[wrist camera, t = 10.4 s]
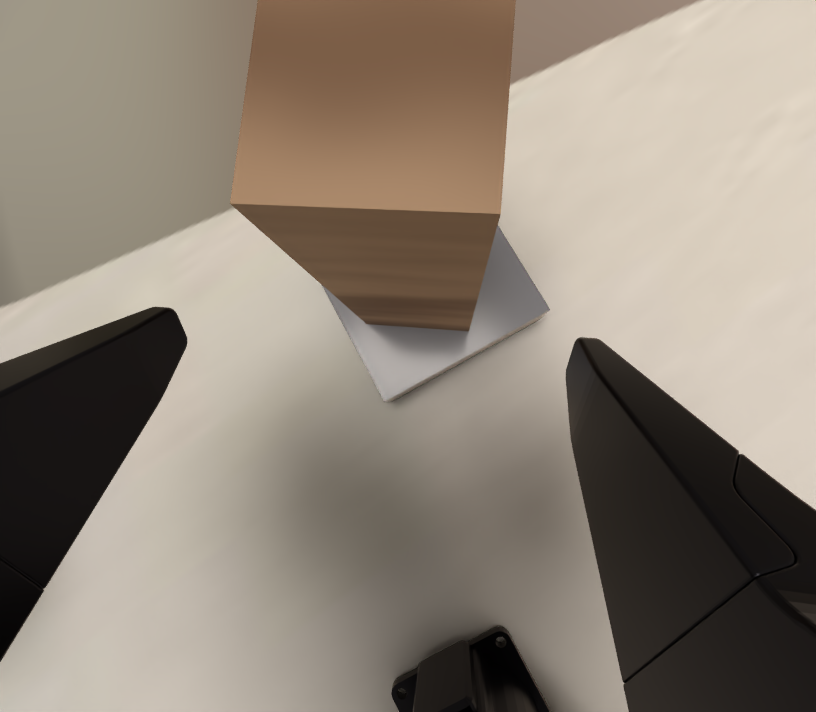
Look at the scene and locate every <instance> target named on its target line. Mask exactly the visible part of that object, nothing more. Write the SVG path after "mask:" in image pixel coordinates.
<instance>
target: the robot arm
mask: <svg viewBox="0 0 816 712" xmlns="http://www.w3.org/2000/svg"><path fill="white" fill-rule="evenodd" d="M186 346H187V336H186V334H185V331H184V329H183V327H182V324H181V322H180V320H179V318H178V315H177V313H176V312H175V311H174V310H173V309H171V308H166V307H152V308H149V309H146V310H143V311H141V312H138V313H135V314H133V315H130V316H127V317H124V318H122V319H119V320H116V321H114V322H111V323H108V324H106V325H103V326H100V327H97V328H95V329H92V330H89V331H87V332H84V333H81V334H79V335H76V336H73V337H70V338H68V339H65V340H62V341H60V342H57V343H54V344H51V345H49V346H46V347H43V348H41V349H38V350H35V351H33V352H30V353H27V354H24V355H22V356H19V357H16V358H14V359H11V360H8V361H6V362H3V363H0V662H1V660H2V658H3V657H4V655H5V654H6V652H7V650H8V649H9V647H10V645H11V644H12V642H13V641H14V639H15V637H16V636H17V634H18V632H19V631H20V629H21V628H22V626H23V624H24V623H25V621H26V619H27V618H28V616H29V615H30V613H31V611H32V610H33V608H34V606H35V605H36V603H37V602H38V600H39V598H40V597H41V595H42V593H43V592H44V588H45V587H46V586H47V585H48V583H49V581H50V580H51V578H52V576H53V575H54V573H55V572H56V570H57V568H58V567H59V565H60V563H61V562H62V560H63V559H64V557H65V555H66V554H67V552H68V550H69V549H70V547H71V546H72V544H73V542H74V541H75V539H76V537H77V536H78V534H79V533H80V531H81V529H82V528H83V526H84V524H85V523H86V521H87V520H88V518H89V516H90V515H91V513H92V511H93V510H94V508H95V506H96V505H97V503H98V502H99V500H100V498H101V497H102V495H103V493H104V492H105V490H106V489H107V487H108V485H109V484H110V482H111V480H112V479H113V477H114V476H115V474H116V472H117V471H118V469H119V467H120V466H121V464H122V463H123V461H124V459H125V458H126V456H127V454H128V453H129V451H130V450H131V448H132V446H133V445H134V443H135V441H136V440H137V438H138V437H139V435H140V433H141V432H142V430H143V428H144V427H145V425H146V424H147V422H148V420H149V419H150V417H151V415H152V414H153V412H154V411H155V409H156V407H157V406H158V404H159V402H160V400H161V399H162V397H163V395H164V393H165V391H166V389H167V387H168V384H169V382H170V380H171V378H172V376H173V374H174V372H175V370H176V368H177V366H178V363H179V361H180V359H181V357H182V355H183V353H184V351H185V349H186ZM566 387H567V399H568V412H569V424H570V435H571V442H572V448H573V453H574V458H575V462H576V467H577V471H578V476H579V481H580V485H581V490H582V495H583V499H584V504H585V509H586V513H587V518H588V522H589V527H590V532H591V536H592V541H593V546H594V550H595V555H596V560H597V564H598V569H599V573H600V578H601V583H602V587H603V592H604V597H605V601H606V606H607V611H608V615H609V620H610V624H611V629H612V634H613V638H614V643H615V648H616V652H617V657H618V662H619V666H620V671H621V675H622V680H623V682H624V683H625V684H624V691H625V695H626V700H627V705H628V709H629V712H816V510H815V509H813V508H812V507H811V506H809V505H808V504H807V503H805V502H804V501H802V500H801V499H800V498H798V497H797V496H796V495H794V494H793V493H792V492H790V491H789V490H788V489H786V488H785V487H784V486H783V485H781V484H780V483H779V482H777V481H776V480H775V479H774V478H772V477H771V476H770V475H768V474H767V473H766V472H765V471H763V470H762V469H761V468H759V467H758V466H757V465H756V464H754V463H753V462H752V461H751V460H750V459H748V458H747V457H746V456H745V455H743V454H739V451H738V450H737V449H736V448H734V447H733V446H732V445H731V444H729V443H728V442H727V441H726V440H724V439H723V438H722V437H721V436H719V435H718V434H717V433H716V432H714V431H713V430H712V429H711V428H709V427H708V426H707V425H706V424H704V423H703V422H702V421H701V420H699V419H698V418H697V417H696V416H694V415H693V414H692V413H691V412H689V411H688V410H687V409H686V408H684V407H683V406H682V405H681V404H679V403H678V402H677V401H676V400H674V399H673V398H672V397H671V396H669V395H668V394H667V393H666V392H664V391H663V390H662V389H661V388H660V387H658V386H657V385H656V384H655V383H653V382H652V381H651V380H650V379H648V378H647V377H646V376H645V375H643V374H642V373H641V372H640V371H638V370H637V369H636V368H635V367H633V366H632V365H631V364H630V363H628V362H627V361H626V360H625V359H623V358H622V357H621V356H620V355H618V354H617V353H616V352H615V351H613V350H612V349H611V348H610V347H608V346H607V345H606V344H605V343H603V342H602V341H601V340H599V339H597V338H583V337H580V338H578V339H577V340H576V341H575V343H574V346H573V349H572V353H571V356H570V359H569V362H568V365H567V369H566ZM498 637H504V638H505V641H504V642H502V643H499V642H497V641H496V639H497V638H498ZM399 688H403V689H405V690H406V693H403V694H402V693H400V692H399V691H398V689H399ZM392 697H393V700H394V702H395V704H396V706H397V708H398V710H399V712H551V711H550V709H549V707H548V705H547V703H546V701H545V700H544V698H543V696H542V694H541V692H540V690H539V688H538V686H537V684H536V683H535V681H534V679H533V677H532V675H531V673H530V671H529V669H528V668H527V666H526V664H525V662H524V660H523V658H522V656H521V654H520V653H519V651H518V649H517V647H516V645H515V643H514V641H513V639H512V638H511V636H510V634H509V632H508V631H507V630H506V629H505V628H503V627H495V628H493V629H491V630H489V631H487V632H485V633H483V634H482V635H480V636H478V637H476V638H474V639H472V640H470V641H468V642H467V641H460V642H458V643H456V644H454V645H452V646H450V647H448V648H446V649H445V650H443V651H441V652H439V653H437V654H435V655H433V656H431V657H429V658H427V659H425V660H423V661H422V662H420V664H419V667H418V668H416V669H415V670H413V671H411V672H409V673H407V674H405V675H403V676H401V677H399V678H398V679H396V680H395V682H394V684H393V687H392Z"/></svg>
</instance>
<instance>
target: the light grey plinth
mask: <svg viewBox="0 0 816 712" xmlns="http://www.w3.org/2000/svg"><path fill="white" fill-rule="evenodd" d="M322 286H323V285H322ZM323 288H324V290H325V292H326V294H327V295H328V297H329V299H330V301H331V303H332V305H333V307H334V309H335V311H336V312H337V314H338V316H339V318H340V320H341V322H342V324H343V326H344V327H345V329H346V331H347V333H348V335H349V337H350V339H351V341H352V342H353V344H354V346H355V348H356V350H357V352H358V354H359V356H360V358H361V359H362V361H363V363H364V365H365V367H366V369H367V371H368V373H369V374H370V376H371V378H372V380H373V382H374V384H375V386H376V388H377V389H378V391H379V393H380V395H381V397H382V399H383V401H384V402H392V401H394V400H395V399H397V398H399V397H401V396H403V395H404V394H406V393H408V392H410V391H412V390H413V389H415V388H417V387H419V386H421V385H422V384H424V383H426V382H428V381H430V380H431V379H433V378H435V377H437V376H439V375H440V374H442V373H444V372H446V371H448V370H449V369H451V368H453V367H455V366H457V365H458V364H460V363H462V362H464V361H466V360H467V359H469V358H471V357H473V356H475V355H477V354H478V353H480V352H482V351H484V350H486V349H487V348H489V347H491V346H493V345H495V344H496V343H498V342H500V341H502V340H504V339H505V338H507V337H509V336H511V335H513V334H514V333H516V332H518V331H520V330H522V329H523V328H525V327H527V326H529V325H531V324H532V323H534V322H536V321H538V320H539V319H540V318H542V317H543V316H544V315H545V314H546V313H547V312H548V311H549V310H550V309H549V307H548V305H547V304H546V302H545V301H544V299H543V297H542V296H541V294H540V292H539V291H538V289H537V288H536V286H535V284H534V283H533V281H532V280H531V278H530V276H529V275H528V273H527V271H526V270H525V268H524V267H523V265H522V263H521V262H520V260H519V259H518V257H517V255H516V254H515V252H514V250H513V249H512V247H511V246H510V244H509V242H508V241H507V239H506V238H505V236H504V234H503V233H502V231H501V230H500V228H499V226H498V225H497V229H496V233H495V236H494V240H493V244H492V247H491V251H490V255H489V259H488V262H487V266H486V270H485V273H484V277H483V281H482V285H481V288H480V292H479V296H478V299H477V303H476V307H475V311H474V314H473V318H472V322H471V325H470V329H469V331H457V330H442V329H428V328H414V327H400V326H386V325H372V324H366V323H365V322H364V321H363V320H361V319H360V318H359V317H358V316H357V315H356V314H355V313H353V312H352V311H351V310H350V309H349V308H348V307H347V306H346V305H344V304H343V303H342V302H341V301H340V300H339V299H338V298H336V297H335V296H334V295H333V294H332V293H331V292H330V291H329V290H327V289H326V288H325V287H324V286H323Z"/></svg>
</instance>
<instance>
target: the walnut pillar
mask: <svg viewBox="0 0 816 712" xmlns="http://www.w3.org/2000/svg"><path fill="white" fill-rule="evenodd" d="M515 2H516V0H258V3H257V11H256V17H255V25H254V32H253V39H252V47H251V54H250V62H249V69H248V77H247V83H246V91H245V98H244V105H243V113H242V120H241V127H240V135H239V143H238V149H237V156H236V164H235V171H234V179H233V186H232V193H231V201H230V204H231V205H232V206H233V207H235V208H236V209H237V210H238V211H239V212H240V213H241V214H242V215H244V216H245V217H246V218H247V219H248V220H249V221H250V222H252V223H253V224H254V225H255V226H256V227H257V228H258V229H259V230H261V231H262V232H263V233H264V234H265V235H266V236H267V237H269V238H270V239H271V240H272V241H273V242H274V243H275V244H276V245H278V246H279V247H280V248H281V249H282V250H283V251H284V252H286V253H287V254H288V255H289V256H290V257H291V258H292V259H293V260H295V261H296V262H297V263H298V264H299V265H300V266H301V267H303V268H304V269H305V270H306V271H307V272H308V273H309V274H310V275H312V276H313V277H314V278H315V279H316V280H317V281H318V282H319V283H321V284H322V285H323V286H324V287H325V288H326V289H327V290H329V291H330V292H331V293H332V294H333V295H334V296H335V297H336V298H338V299H339V300H340V301H341V302H342V303H343V304H344V305H346V306H347V307H348V308H349V309H350V310H351V311H352V312H353V313H355V314H356V315H357V316H358V317H359V318H360V319H361V320H363V321H364V322H365V323H366V324H372V325H386V326H400V327H414V328H428V329H442V330H457V331H469V329H470V325H471V322H472V318H473V314H474V311H475V307H476V303H477V299H478V296H479V292H480V288H481V285H482V281H483V277H484V273H485V270H486V266H487V262H488V259H489V255H490V251H491V247H492V244H493V240H494V236H495V233H496V229H497V225H498V221H499V218H500V214H501V200H502V186H503V172H504V158H505V144H506V129H507V115H508V101H509V87H510V71H511V59H512V44H513V30H514V16H515Z"/></svg>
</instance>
